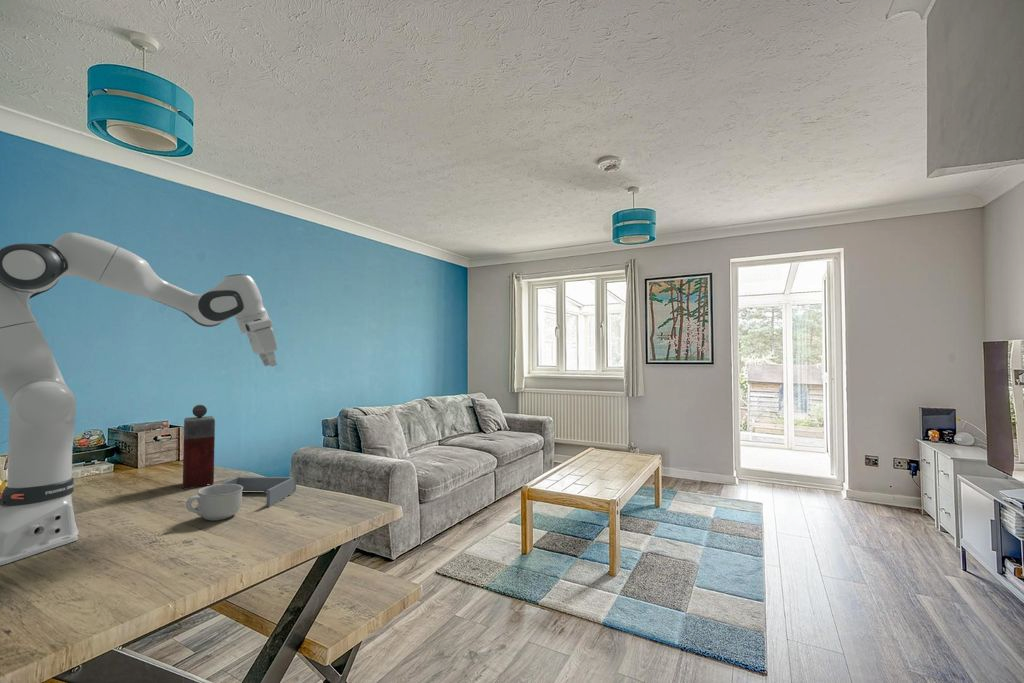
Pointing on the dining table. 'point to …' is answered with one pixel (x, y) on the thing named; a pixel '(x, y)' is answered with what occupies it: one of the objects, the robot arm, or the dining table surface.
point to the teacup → (217, 501)
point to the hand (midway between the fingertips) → (270, 365)
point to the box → (267, 486)
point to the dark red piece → (198, 449)
